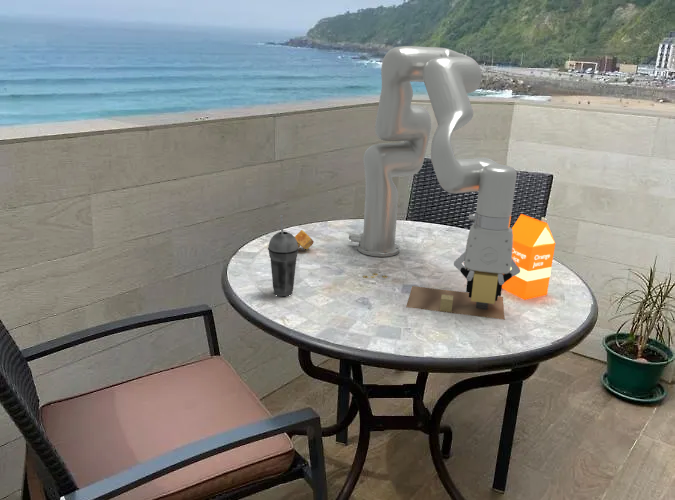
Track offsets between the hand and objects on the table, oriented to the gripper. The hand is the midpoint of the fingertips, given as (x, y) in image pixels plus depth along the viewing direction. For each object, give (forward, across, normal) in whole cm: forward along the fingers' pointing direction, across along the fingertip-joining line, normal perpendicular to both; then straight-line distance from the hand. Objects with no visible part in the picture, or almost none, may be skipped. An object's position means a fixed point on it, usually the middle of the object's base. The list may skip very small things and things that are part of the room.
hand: (482, 296), depth 135 cm
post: (+3, 0, 0) cm, 3 cm away
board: (+4, -6, +1) cm, 7 cm away
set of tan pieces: (+5, -27, +11) cm, 29 cm away
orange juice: (+4, +10, +13) cm, 17 cm away
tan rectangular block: (0, 0, 0) cm, 0 cm away
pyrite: (+4, -52, +28) cm, 59 cm away
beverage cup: (+4, -47, -4) cm, 47 cm away
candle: (+4, +15, +33) cm, 36 cm away
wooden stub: (+3, -8, -4) cm, 9 cm away
